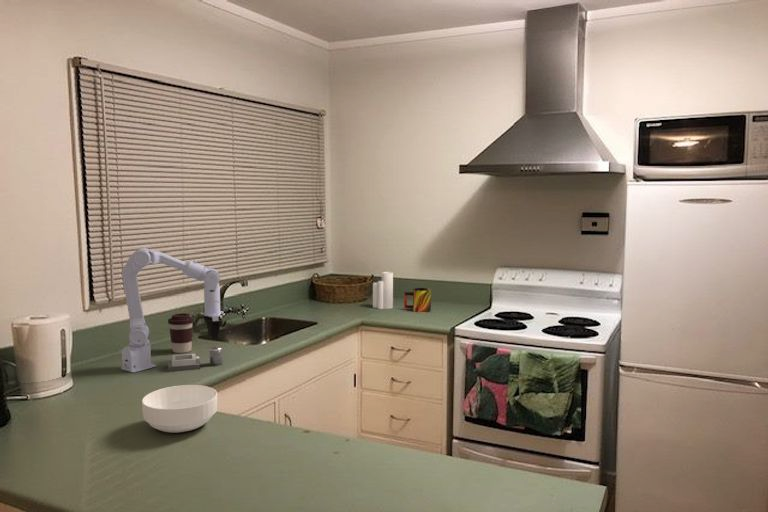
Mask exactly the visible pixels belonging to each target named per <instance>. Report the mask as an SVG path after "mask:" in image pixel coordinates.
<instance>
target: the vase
mask: <svg viewBox="0 0 768 512" xmlns="http://www.w3.org/2000/svg"><path fill="white" fill-rule="evenodd" d="M372 308H374V309H378V310H383V309H385V310H388V309H393V308H394V272H393V271H381V280H378V281H377V282H373V283H372Z"/></svg>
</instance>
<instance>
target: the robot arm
mask: <svg viewBox="0 0 768 512" xmlns="http://www.w3.org/2000/svg"><path fill="white" fill-rule="evenodd" d="M150 263H151V265H156V264H162V265H165V266H167V267H172V268H174V269H177V270H181V271H182V273H183V274H184V276H187V277H189V278H191V279H194V280H196V281H198V282H199V281H200V282H202V281H203V282H204V288H203V296H204V297H203V300H204V303H203V305H204V313H203V319H204V321H205V323H206V324H205V325H206V328H207V332H208V335H210V337H211V340H215V339H216V340H217V339H218V338H219V334H220V330H221V329H220V328H221V327H222V324H223V320H222V319H219V316H220V315H222V314H223V315H224V314H225V313H224V312H225V311H223V310H221V292H220V291H221V289H220V281H221V276H220V273H219V271H218V270H216V269H215V268H213V267H210V266H209V265H207V266H205V265H202V264H201V263H198V260H197V261H196V260H188V261H183V260H180V259H178V258H176V257H173V256H171V255H170V254H166V253H164V252H162V251H159V250H155V249H149V248H148V247H146V246H145V247H138V248H137V249H136V250H135V251H134V252H133V253H132V254H130V256H129V257H128V259H127V261H126V263H125V265H124V267H123V269H122V271H121V275H122V281H123V288H124V293H125V298H126V299H125V300H126V305H127V310H128V311H127V312H128V317H129V331H130V332H129V334H128V340H129V343H128V346H125V347H123V348H122V350H121V368H120V369H121V370H122V371H127V372H130V373H137V372H141V371H145V370H148V369H151V368H156V367H157V364H154V363H152V357H151V356H152V355H151V352H152V351H151V341H150V340H149V339H148V337H149V335H150V327H148V325H147V324H146V320H145V317H144V316H145V315H144V311H143V305H142V300H141V295H140V288H139V282H138V281H139V280H138V276H137V275H138V274H139V272H140V271H142V269H144V268H145V267H147V266H149V264H150Z"/></svg>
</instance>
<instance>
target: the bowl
mask: <svg viewBox="0 0 768 512" xmlns="http://www.w3.org/2000/svg"><path fill="white" fill-rule="evenodd" d="M141 409H142V417H143V420H144V421H145V422H147V423H148V425H149V426H150V427H151V428H154V429H156V430H159V431H161V432H164V433H185V432H189V431H192V430H197V429H198V428H200V427H202V426H203V425H205V424H206V423H207V422H209V421H210V420H211V419H212V417H213V416H214V414H216V413H217V411H218V391H217V390H216V389H215V388H213V387H210V386H207V385H201V384H183V385H172V386H168V387H163V388H160V389H157V390H153V391H151V392H149V393H148V394H146V395H144V396H143V398H142V400H141Z"/></svg>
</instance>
